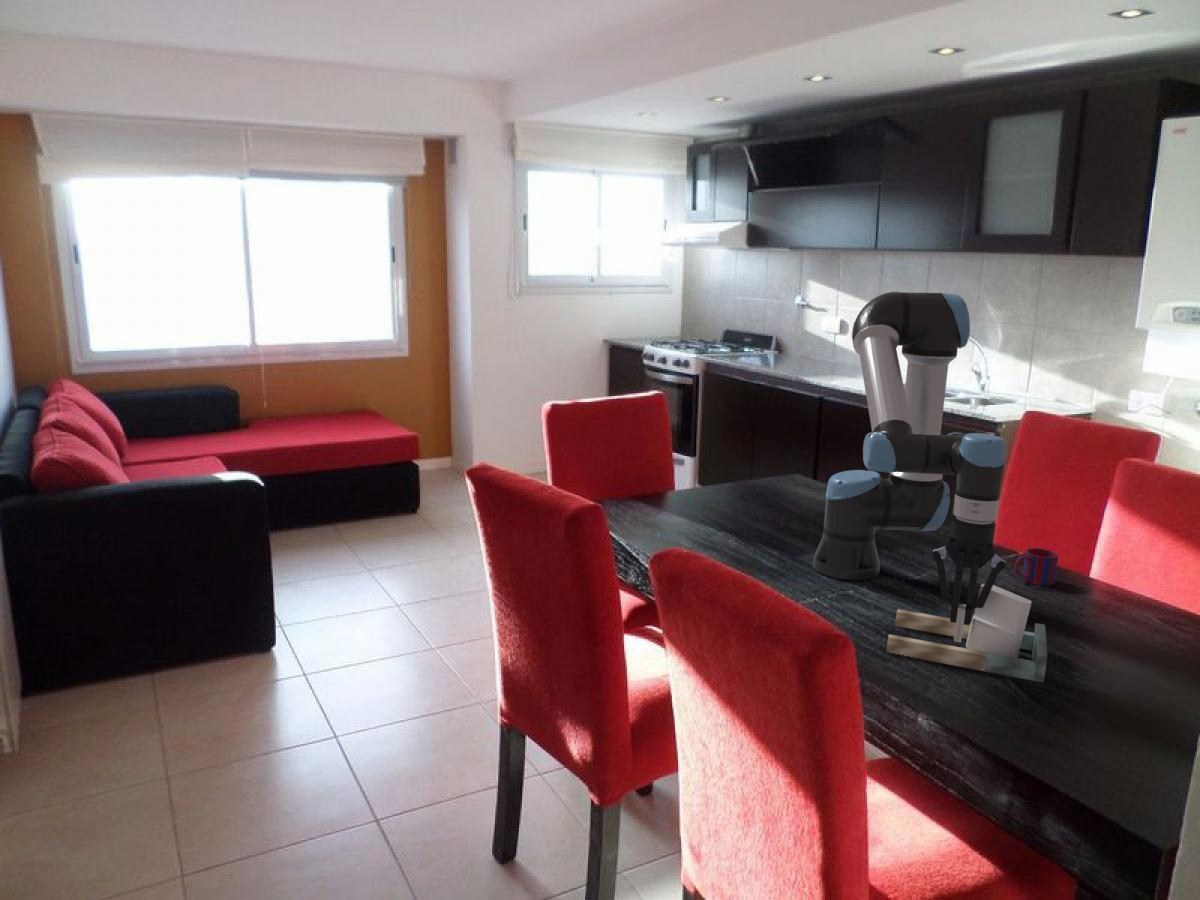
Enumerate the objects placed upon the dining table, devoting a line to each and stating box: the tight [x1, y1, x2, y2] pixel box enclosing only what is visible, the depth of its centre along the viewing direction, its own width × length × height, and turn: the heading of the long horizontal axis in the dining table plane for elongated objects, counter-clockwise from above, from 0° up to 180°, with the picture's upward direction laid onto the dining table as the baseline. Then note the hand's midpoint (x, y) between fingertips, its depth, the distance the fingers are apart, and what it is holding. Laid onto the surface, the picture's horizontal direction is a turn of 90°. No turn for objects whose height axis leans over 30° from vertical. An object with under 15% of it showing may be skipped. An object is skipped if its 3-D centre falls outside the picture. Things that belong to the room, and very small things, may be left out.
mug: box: [1014, 547, 1059, 587], centre depth 207 cm, size 7×10×7 cm
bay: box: [886, 608, 1048, 683], centre depth 170 cm, size 27×15×5 cm, turn 66°
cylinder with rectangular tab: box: [965, 583, 1032, 658], centre depth 167 cm, size 9×9×12 cm
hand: (957, 639), depth 169 cm, fingers closed
